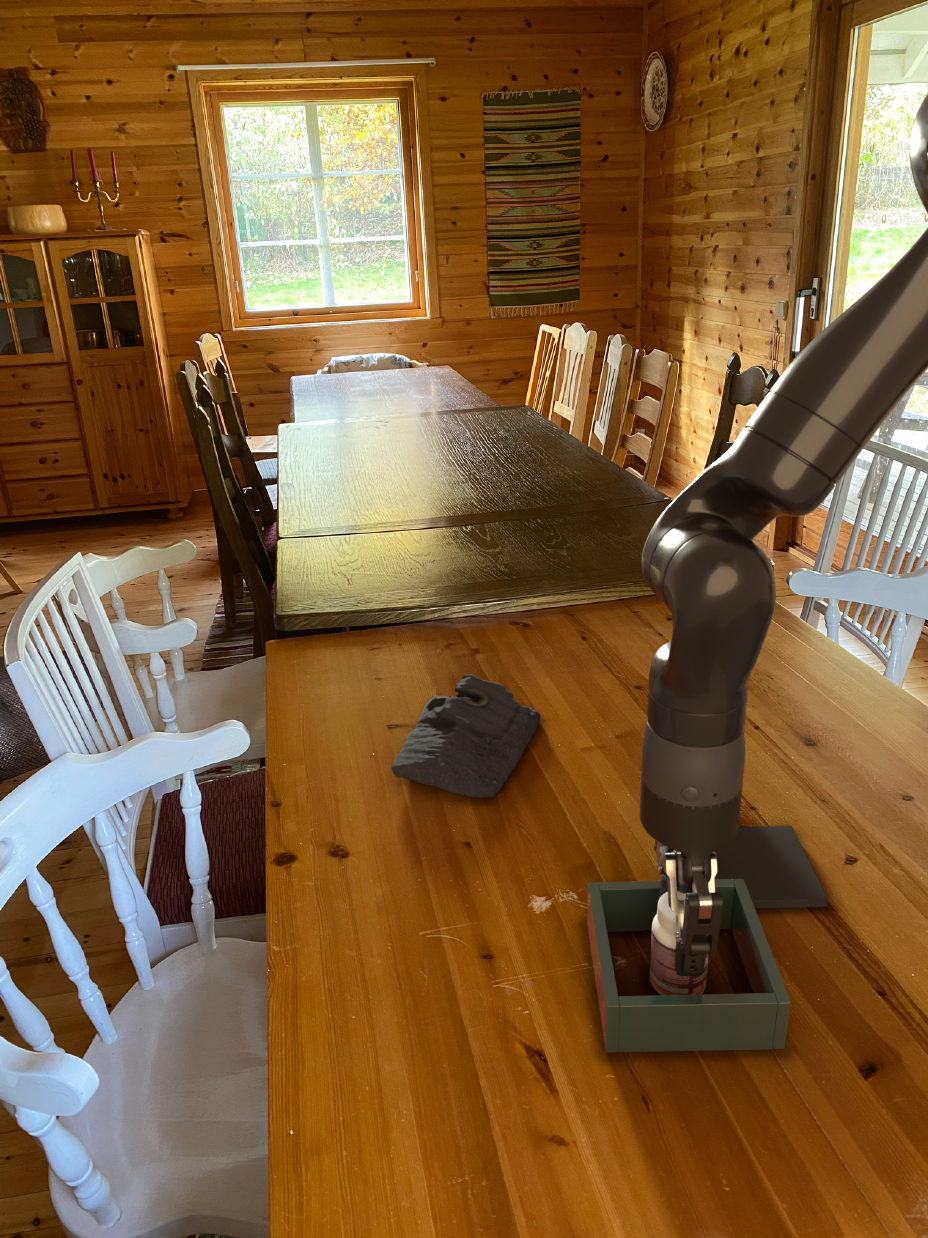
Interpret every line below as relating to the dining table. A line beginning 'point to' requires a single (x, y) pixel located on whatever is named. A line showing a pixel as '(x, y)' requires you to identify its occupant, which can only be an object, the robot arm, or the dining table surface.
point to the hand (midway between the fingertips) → (680, 940)
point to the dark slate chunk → (467, 739)
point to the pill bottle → (670, 955)
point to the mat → (771, 868)
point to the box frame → (686, 1016)
